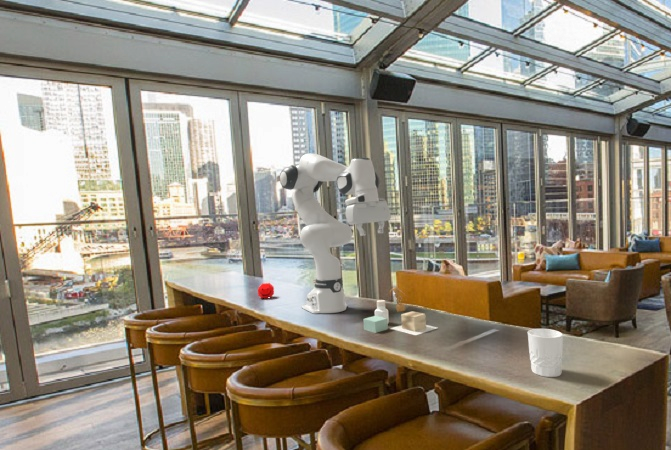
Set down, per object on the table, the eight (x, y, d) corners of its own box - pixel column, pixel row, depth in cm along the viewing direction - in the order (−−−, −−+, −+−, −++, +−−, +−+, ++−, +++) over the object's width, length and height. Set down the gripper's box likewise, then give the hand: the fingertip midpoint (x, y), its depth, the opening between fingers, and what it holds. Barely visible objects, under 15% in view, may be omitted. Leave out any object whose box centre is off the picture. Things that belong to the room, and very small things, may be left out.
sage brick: (364, 332, 145) (363, 318, 145) (376, 329, 149) (375, 315, 148) (375, 336, 140) (374, 321, 140) (387, 332, 144) (387, 318, 144)
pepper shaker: (383, 328, 149) (382, 302, 149) (374, 326, 152) (373, 301, 151) (389, 325, 152) (388, 300, 152) (380, 324, 155) (379, 299, 154)
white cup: (555, 365, 106) (553, 328, 106) (570, 378, 98) (568, 337, 98) (524, 366, 107) (522, 329, 106) (536, 378, 99) (535, 338, 99)
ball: (258, 300, 213) (257, 285, 213) (259, 297, 221) (258, 283, 221) (273, 299, 213) (272, 284, 213) (274, 296, 221) (273, 282, 221)
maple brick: (401, 328, 144) (401, 314, 144) (413, 324, 148) (412, 311, 147) (414, 331, 139) (414, 317, 139) (426, 327, 143) (425, 313, 143)
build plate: (389, 331, 144) (389, 328, 144) (412, 324, 152) (412, 321, 152) (415, 338, 135) (415, 335, 135) (438, 330, 142) (438, 327, 142)
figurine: (411, 313, 169) (410, 284, 168) (404, 316, 164) (402, 286, 164) (395, 310, 174) (393, 283, 174) (387, 313, 170) (385, 285, 169)
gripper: (380, 199, 164) (385, 233, 163) (341, 201, 151) (346, 237, 150) (391, 196, 159) (396, 231, 158) (352, 198, 146) (357, 236, 145)
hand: (372, 234), depth 154 cm, fingers open, 8 cm apart
